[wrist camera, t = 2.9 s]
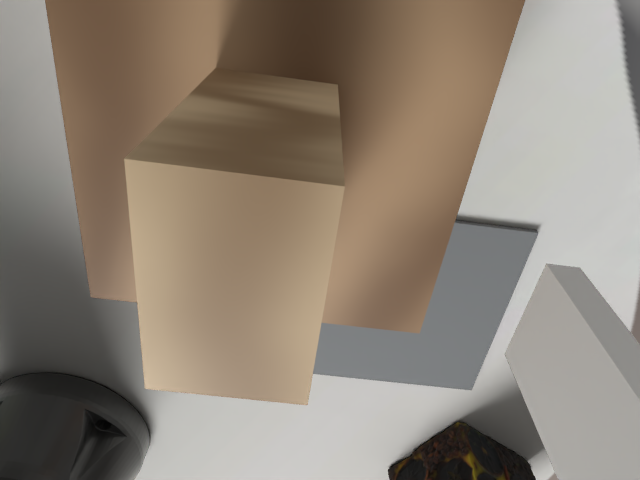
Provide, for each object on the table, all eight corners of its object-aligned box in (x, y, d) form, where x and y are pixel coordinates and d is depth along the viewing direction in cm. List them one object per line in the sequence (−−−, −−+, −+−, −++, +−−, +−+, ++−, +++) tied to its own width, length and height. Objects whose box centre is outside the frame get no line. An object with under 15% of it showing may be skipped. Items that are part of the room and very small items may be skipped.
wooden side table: (176, 174, 32) (-31, 471, 13) (168, -84, 24) (-316, -201, 6) (387, 201, 32) (463, 516, 14) (443, -42, 25) (747, -34, 7)
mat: (289, 367, 41) (288, 371, 40) (311, 202, 32) (310, 205, 32) (470, 386, 42) (471, 390, 41) (536, 230, 33) (538, 233, 33)
